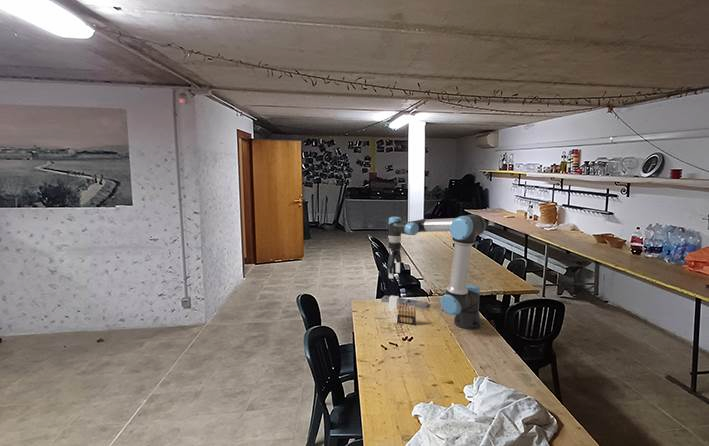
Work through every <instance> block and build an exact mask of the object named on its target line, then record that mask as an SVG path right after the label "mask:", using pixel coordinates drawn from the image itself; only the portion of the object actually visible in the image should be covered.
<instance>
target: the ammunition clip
mask: <svg viewBox="0 0 709 446" xmlns="http://www.w3.org/2000/svg"><path fill="white" fill-rule="evenodd" d="M416 316H417V313H416V307H415V305H414V306H412V304H411V306H409V304H408V306H407V305H406V304H405V305H403V303H402V305H400V303H399V305H398V308H397V319H396V320H397V321H396V323H397V324H401V325H402V324H403V325H408V326H416V325H417V317H416Z"/></svg>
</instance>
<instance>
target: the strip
mask: <svg viewBox="0 0 709 446" xmlns="http://www.w3.org/2000/svg"><path fill="white" fill-rule="evenodd" d="M390 296H391V295H383V297H382V298H381V299H380V301H381V303H388V304H389V297H390ZM399 303H400V306H401V305H402V303H403V306H405V304H406V307H407V306H408V304H409V307H411V304H412V307H414V305H415V308H421V309H427V308H428V306H429V303H430V302H429V301H425V300H416V299H410V298H405V297H399ZM442 311H443V312H445V311H444V310H443V309H442Z"/></svg>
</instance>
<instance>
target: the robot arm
mask: <svg viewBox="0 0 709 446" xmlns="http://www.w3.org/2000/svg"><path fill="white" fill-rule="evenodd" d="M486 225H487V222H486V221H485V219H484V217H483V216H481V215H479V214H478V213H476V214H474V213H473V214H467V215H460V216H458V217H455V218H454V217H453V218H452V217H450V218H432V219H427V218H421V219H417V220H410V221H405V220H404V221H403V220H402V217H400V216H390V217H389V218H388V236H387V238H388V249H390V251H388V261H387V267H386V268H387V269H388V279H394V263H395V273H398V274H400V273H401V263H403V262H402V255H401V247H402V235H408V236H415V235H417V234H418V233H429V232H430V233H431V232H433V233H434V232H435V233H436V232H438V233H439V232H449V233H450V234H451V237H452V241H453V243H454V246H453V254H452V261H451V262H452V263H451V269H450V278H449V284H448V285H447V286H446V288H445V294H443V295H442V296H441V297H440V306H441V309H442V311H443V310H444V311H443V312H444V313H446V314H447V315H449V316H454V318H453V323H454V325H455V326H456V327H458V328H461V329H466V330H477V329H480V328H481V327H482V319H481V316H480V310H479V309H480V296H481V293H480V287H479V286H477V285H474V284H468V283H467V280H468V272H469V265H470V260H471V252H472V246H473V245H475V244H476V239H477V236H480V235H481V234H483V233H484V231H485V230H486V227H487V226H486Z"/></svg>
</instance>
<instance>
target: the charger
mask: <svg viewBox="0 0 709 446" xmlns="http://www.w3.org/2000/svg"><path fill="white" fill-rule="evenodd" d="M389 296H390V297H389V303H388V309H393V310H398V305H399V298H400V297H399V296H398V295H389Z"/></svg>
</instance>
